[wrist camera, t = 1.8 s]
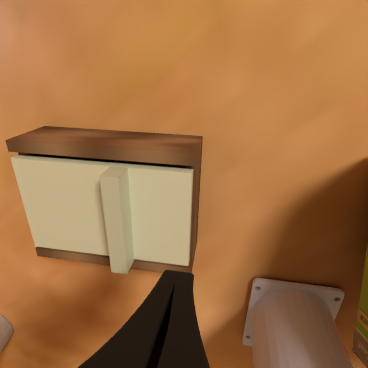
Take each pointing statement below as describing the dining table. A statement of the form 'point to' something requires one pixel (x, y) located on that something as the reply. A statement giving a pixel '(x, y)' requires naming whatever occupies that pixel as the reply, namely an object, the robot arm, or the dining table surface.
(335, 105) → the dining table surface
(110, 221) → the cover plate
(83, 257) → the walnut box
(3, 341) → the house plant
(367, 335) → the tea box
